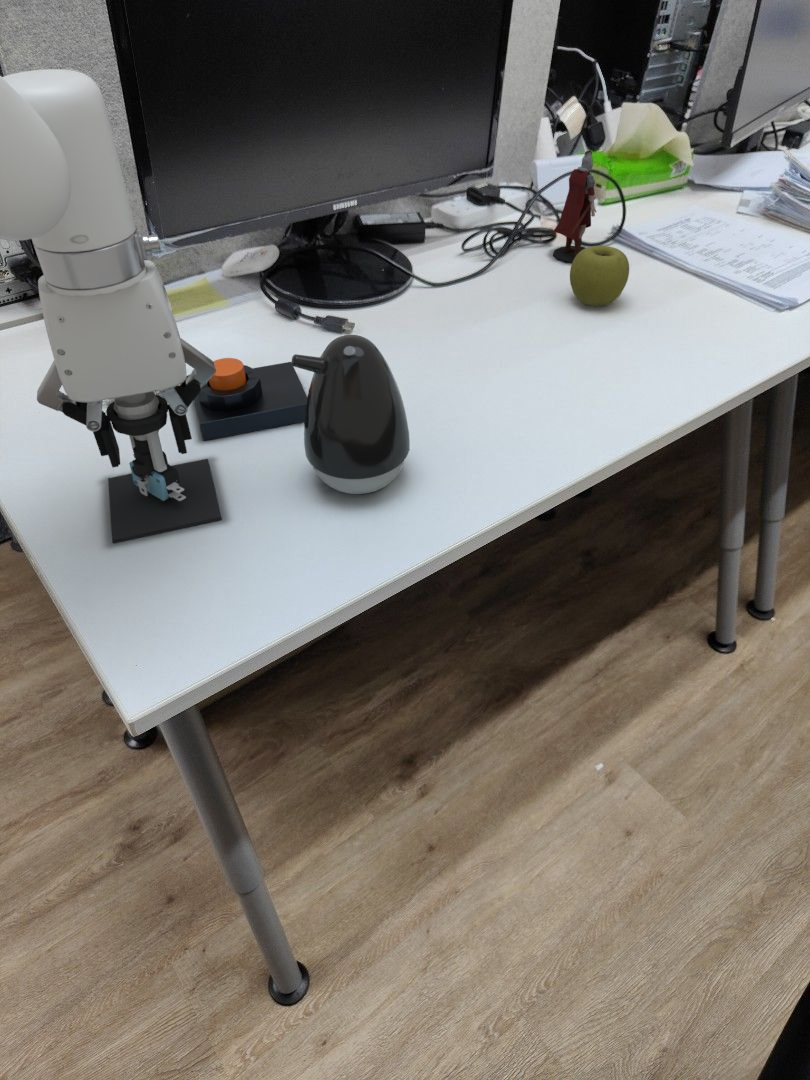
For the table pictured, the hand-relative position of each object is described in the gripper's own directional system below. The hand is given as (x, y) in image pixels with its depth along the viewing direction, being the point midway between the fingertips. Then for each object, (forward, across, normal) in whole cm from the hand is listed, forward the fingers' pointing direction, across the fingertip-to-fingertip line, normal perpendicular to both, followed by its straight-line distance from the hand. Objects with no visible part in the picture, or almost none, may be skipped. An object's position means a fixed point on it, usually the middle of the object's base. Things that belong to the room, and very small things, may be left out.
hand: (148, 450), depth 71 cm
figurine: (+6, -66, -41) cm, 78 cm away
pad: (+6, 0, 0) cm, 6 cm away
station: (+6, -11, -14) cm, 19 cm away
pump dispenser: (+6, -19, +3) cm, 20 cm away
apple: (+6, -61, -25) cm, 66 cm away
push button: (+5, 0, 0) cm, 5 cm away
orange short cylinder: (+2, -9, -14) cm, 17 cm away
